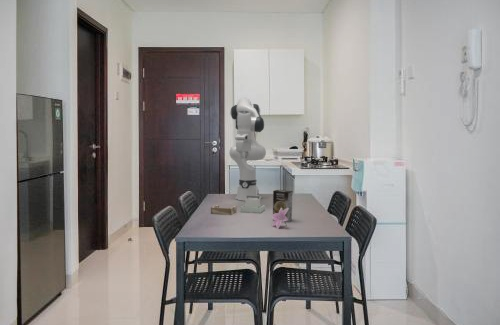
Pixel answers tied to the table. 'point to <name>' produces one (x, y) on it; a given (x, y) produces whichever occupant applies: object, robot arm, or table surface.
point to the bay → (223, 210)
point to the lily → (279, 217)
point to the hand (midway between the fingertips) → (244, 158)
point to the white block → (252, 201)
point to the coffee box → (282, 202)
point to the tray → (253, 209)
